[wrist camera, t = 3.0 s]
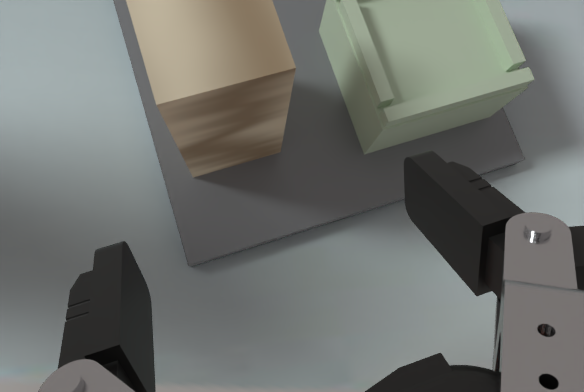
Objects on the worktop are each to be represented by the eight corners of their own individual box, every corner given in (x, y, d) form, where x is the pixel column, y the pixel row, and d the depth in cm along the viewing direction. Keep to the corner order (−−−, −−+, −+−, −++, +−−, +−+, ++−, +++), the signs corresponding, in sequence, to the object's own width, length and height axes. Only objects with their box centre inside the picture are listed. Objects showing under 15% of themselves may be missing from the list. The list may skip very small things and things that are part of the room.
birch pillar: (193, 177, 26) (156, 105, 16) (168, 95, 27) (119, -22, 17) (280, 152, 26) (295, 67, 17) (253, 72, 27) (254, -52, 18)
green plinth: (364, 154, 27) (387, 124, 22) (318, 31, 28) (331, -22, 24) (489, 116, 28) (537, 80, 23) (440, -1, 29) (475, -57, 25)
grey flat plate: (191, 266, 26) (188, 265, 25) (110, -17, 29) (105, -28, 28) (515, 163, 29) (524, 159, 28) (409, -85, 32) (414, -97, 31)
